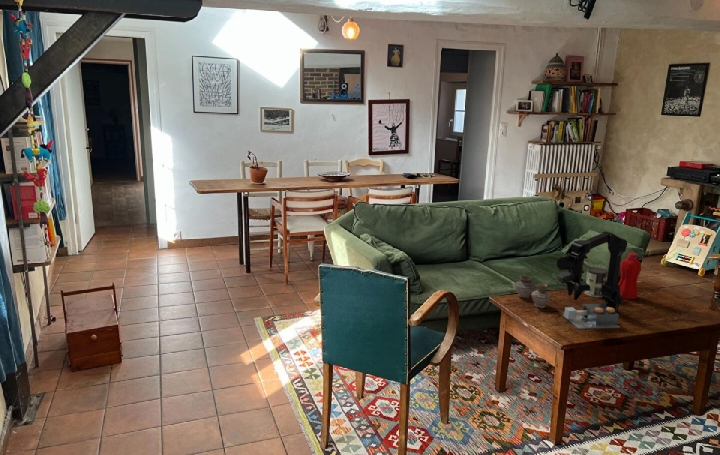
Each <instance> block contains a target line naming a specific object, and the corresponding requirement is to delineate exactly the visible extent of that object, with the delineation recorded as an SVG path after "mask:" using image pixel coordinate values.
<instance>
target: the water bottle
mask: <svg viewBox="0 0 720 455" xmlns="http://www.w3.org/2000/svg"><path fill="white" fill-rule="evenodd" d="M641 271H642V263H641V262H640V260H638V254H637V253H636V252H628V254H627V258H624V259H623V260H621V262H620V270H619V274H620V279H619V281H618V285H619V287H620V295H621V296H622V297H623V299H625V300H633V299H636V298H637V296H638V278H639V276H640V273H641Z"/></svg>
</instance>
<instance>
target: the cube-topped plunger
mask: <svg viewBox="0 0 720 455" xmlns="http://www.w3.org/2000/svg"><path fill="white" fill-rule="evenodd" d="M588 312H589V310H588V309H587V310H582V309H580V310H577V309H576V308H574V307H573V306H570V307H565V308H564V313H563V314H564V316H565V317H566V318H567V319H576V316H578V315H587V316H588ZM564 316H563V317H564ZM565 317H564V318H565ZM566 318H565V319H566ZM567 319H566V320H567Z"/></svg>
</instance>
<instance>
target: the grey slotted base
mask: <svg viewBox="0 0 720 455" xmlns="http://www.w3.org/2000/svg"><path fill="white" fill-rule="evenodd" d="M607 307H608V306H606V305H605V304H604V303H583V304H582V308H581V310H587V309H588V310H589V312H588V316H587V315H578V316H576V319H567V318H566V317H565V316H564V313H562V314H561V315H562V317H564V318H565V319H566V320H567V321H569V322H570V323H571V324H572V325H573V326H574V325H575V326H574V327H575V328H577V329H578V330H585V329H586V330H587V329H588V330H589V329H618V328H620V327H621V326H620V325H618V322H619V321H618V320H619V316H620V315H619V314H618V313H616V312H613V313H608V311H606V308H607ZM595 308H602V309H603V312H602V313H598V314H597V313H596V311H594V310H595Z"/></svg>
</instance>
